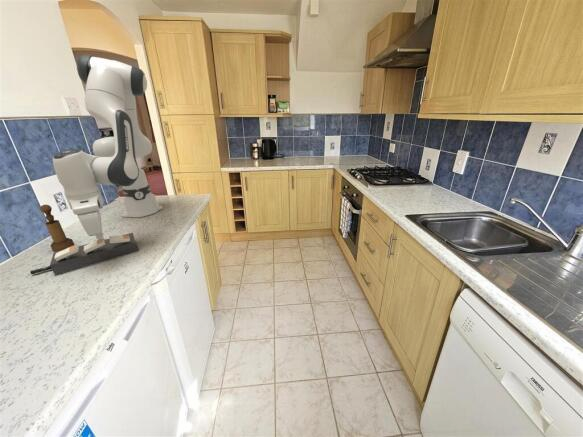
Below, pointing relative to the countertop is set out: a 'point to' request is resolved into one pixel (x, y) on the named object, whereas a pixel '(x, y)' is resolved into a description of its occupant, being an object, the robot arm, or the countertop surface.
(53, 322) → the countertop surface
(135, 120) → the robot arm
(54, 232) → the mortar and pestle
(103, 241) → the rocker middle
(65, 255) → the rocker
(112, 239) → the block
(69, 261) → the power strip
